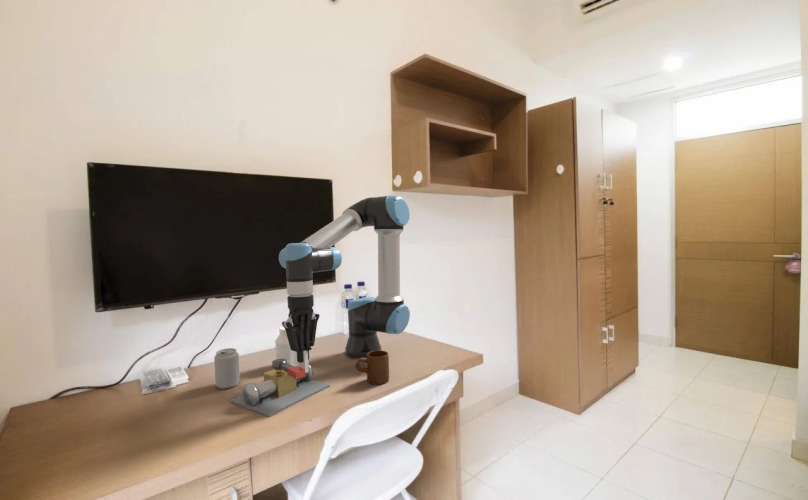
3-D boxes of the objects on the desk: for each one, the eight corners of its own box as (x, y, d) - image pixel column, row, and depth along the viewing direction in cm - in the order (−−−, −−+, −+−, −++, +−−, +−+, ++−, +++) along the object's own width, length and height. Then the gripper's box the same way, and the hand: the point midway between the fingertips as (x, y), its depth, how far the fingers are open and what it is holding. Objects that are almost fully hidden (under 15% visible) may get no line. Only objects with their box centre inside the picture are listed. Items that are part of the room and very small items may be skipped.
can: (212, 385, 129) (210, 351, 129) (234, 379, 135) (232, 345, 134) (221, 391, 124) (219, 355, 124) (243, 384, 130) (242, 350, 129)
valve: (300, 379, 133) (299, 356, 133) (314, 383, 130) (313, 359, 129) (242, 404, 115) (241, 377, 114) (257, 410, 111) (255, 382, 110)
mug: (361, 390, 123) (360, 361, 123) (351, 382, 130) (350, 355, 129) (393, 381, 129) (392, 354, 129) (382, 374, 136) (382, 348, 135)
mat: (293, 375, 137) (293, 374, 137) (330, 386, 127) (330, 384, 127) (231, 402, 117) (231, 400, 117) (269, 416, 107) (268, 414, 107)
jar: (282, 372, 140) (281, 332, 139) (272, 366, 147) (270, 327, 146) (311, 364, 147) (310, 326, 147) (300, 358, 155) (299, 322, 154)
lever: (269, 367, 122) (269, 361, 122) (282, 363, 125) (282, 357, 125) (293, 379, 111) (293, 373, 111) (307, 375, 114) (306, 369, 114)
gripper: (307, 290, 122) (311, 362, 123) (274, 297, 111) (278, 376, 112) (324, 292, 117) (327, 367, 119) (291, 299, 107) (295, 381, 108)
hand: (303, 371), depth 116 cm, fingers closed
